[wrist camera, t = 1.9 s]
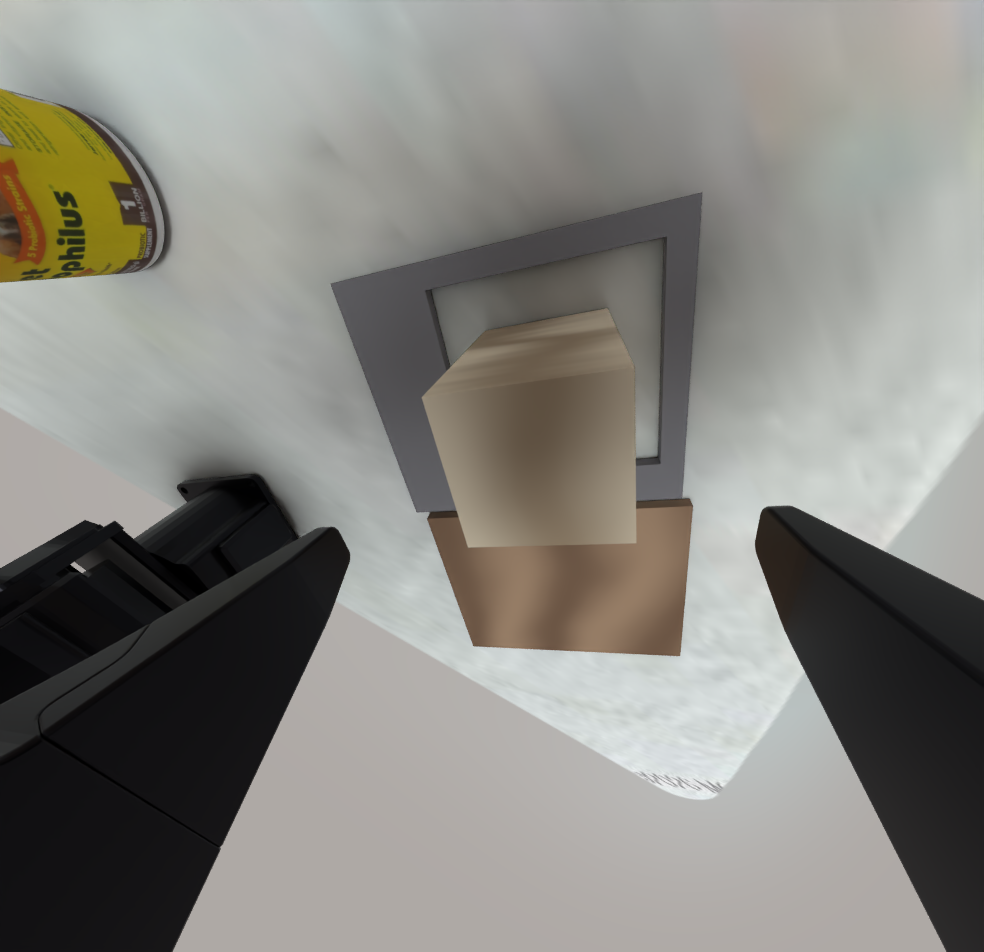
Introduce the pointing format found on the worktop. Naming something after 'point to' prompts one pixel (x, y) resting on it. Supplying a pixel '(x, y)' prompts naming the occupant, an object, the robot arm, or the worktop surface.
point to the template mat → (406, 290)
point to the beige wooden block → (540, 434)
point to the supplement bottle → (70, 196)
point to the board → (575, 587)
